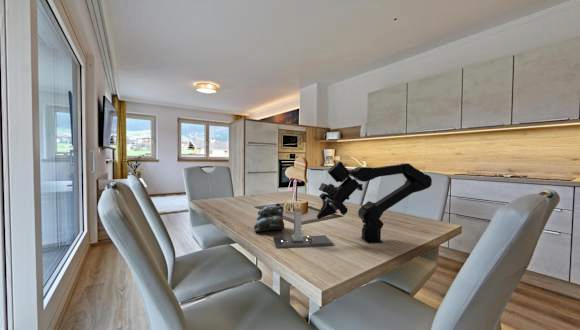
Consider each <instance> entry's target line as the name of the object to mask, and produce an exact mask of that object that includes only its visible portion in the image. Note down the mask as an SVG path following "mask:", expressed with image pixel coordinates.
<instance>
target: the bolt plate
mask: <svg viewBox="0 0 580 330" xmlns="http://www.w3.org/2000/svg"><path fill="white" fill-rule="evenodd" d="M302 237H303V238H304V241H295V242H293V240H292V238H291V236H273V237H272V241H273V243H274V247H275V249H280V248H281V249H283V248H286V249H287V248H305V247H325V246H326V247H328V246H334V244H333V243H334V242H332V240H330V238H329V237H328V236H327V235H311V234H308V235H302Z"/></svg>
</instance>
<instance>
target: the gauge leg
mask: <svg viewBox="0 0 580 330" xmlns="http://www.w3.org/2000/svg"><path fill="white" fill-rule="evenodd" d="M293 211H294V212H293V213H294V214H293V234H291V236H290V237H291V238H292V240H293V242H295V241H304V238H303V237H302V236H303V235H302V212H303V208H302V207H293Z"/></svg>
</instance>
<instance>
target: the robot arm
mask: <svg viewBox="0 0 580 330" xmlns="http://www.w3.org/2000/svg"><path fill="white" fill-rule="evenodd" d="M327 174H328V175H330V177H331V178H332V179H333V180H334V181H335V182H336V183H340V185H338V186H335V185H334V184H332V183H329V184H327V183H324V182H322V183H321V184H320V186H319V187H318V190H319V191H321V192H322V193H321V194H319V198H320V199H321V201H322V205H321V207H320V210H319V211H318V213H317V215H316V218H317V219H318V220H320V219H323V218H325V217H328V216H331V215H334V214H338V211H339V212H340V214H341V215H342V216H345V215H346V214H347V213H348V207H347V206H346V205H345V204H344V202H345V201H346V200H347V201H349V200H350V199H351V197H350V196H351V195H352V194H353V193H354V192H355V191H356V190H357V191H361V192H362V191H363V190H364V188H363V183H359V182H364V183H365V182H369V181H371V180H374V179H376V178H378V177H379V178H380V177H386V176H394V175H403V176H404V178H405V179H406V180H405V182H404V184H403V185H401V186H399V187H398V188H396V189H395V190H393V191H391V192H390V193H389V194H387V195H386V196H384V197H382V198H380V199H379V200H378V201H376V202H372V201H370V200H369V201H367V202H366V203H364V204H362V205H360V208H359V209H358V213H357V215H358V218H359V219H360V220H361V221H362V223H363V224H362V228H361V237H360V238H361V239H362V240H363V241H365V242H366V243H367V244H374V243H375V244H378V243H383V242H384V241H383V240H382V238H381V236H382V235H381V234H382V232H381V231H382V229H383V226H384V224H385V223H384V222H383V221H382V220H381V219H380V218H381V217H382V216H383V213H384V212H386V211H387V210H388V209H390V208H391V207H393V206H395V205H396V204H398V203H399V202H401V201H402V200H404V199H406V198H407V197H409V196H410V195H412V194H414V193H417V192H423V191H424V190H426V189H429V188H430V187H431V186H432V185H433V184H432V182H433V181H432V177H431V176H430V175H429V174H426V173H424V172H422V171H420V170H419V169H417V168H416V167H414V166H413V165H411V164H410V163H403V162H402V163H400V164H399V163H398V164H391V165H386V166H385V165H384V166H383V165H382V166H377V167H371V166H365V167H364V166H357V167H355V168H354V169H352V170H351V169H348V168H347V167H346V166H345V165H344V163H343V162H342V161H338V162H337V163H335V164H334V165H333V166H331V167H330V168H329V169H328V170H327ZM352 177H353V178H352Z"/></svg>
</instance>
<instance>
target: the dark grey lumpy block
mask: <svg viewBox="0 0 580 330" xmlns="http://www.w3.org/2000/svg"><path fill="white" fill-rule="evenodd" d="M283 215H284V206H283V205H280V203H276V204H268V205H265V206H264V207H263V208H262V209H260V210H258V211H257V217H256V220H257V221H256V222H255V224H254V225H253V231H254V233H259V232H263V231H281V232H282V231H283V230H285V222H284V219H283Z"/></svg>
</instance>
